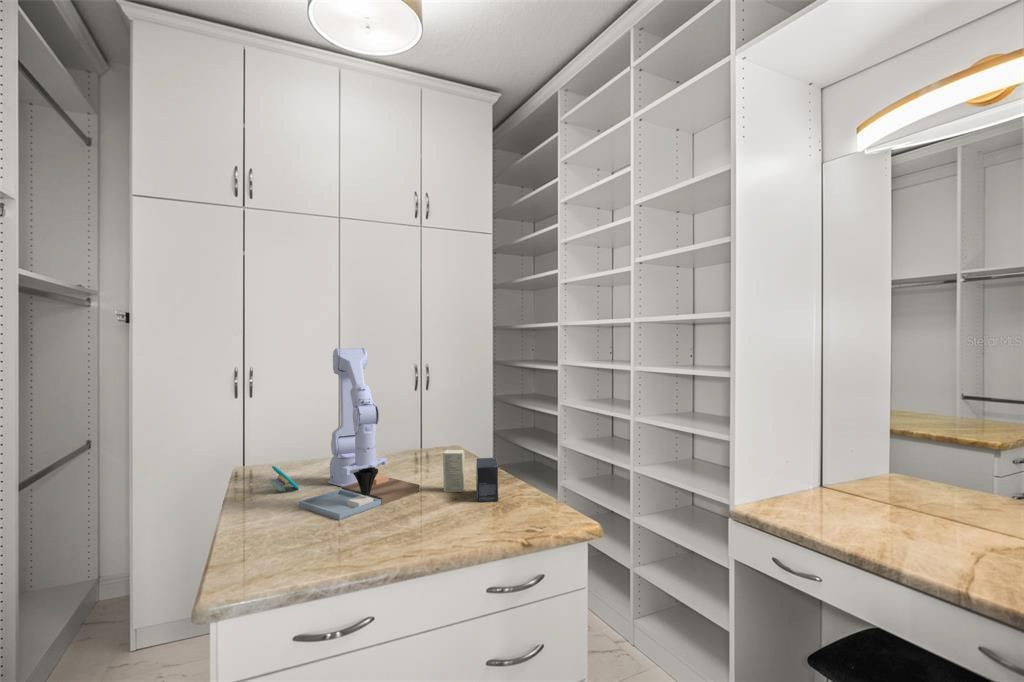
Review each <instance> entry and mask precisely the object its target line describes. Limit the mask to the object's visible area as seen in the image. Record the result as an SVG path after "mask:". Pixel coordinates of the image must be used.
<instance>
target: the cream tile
mask: <svg viewBox="0 0 1024 682" xmlns="http://www.w3.org/2000/svg"><path fill="white" fill-rule="evenodd" d="M370 502H373V498H370V497H367V496H363V495H361V496H358V497H354V498H351V499H348V500H347V505H349V506H352V507H355V508H356V507H359V506H362V505H364V504H367V503H370Z"/></svg>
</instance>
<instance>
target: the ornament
mask: <svg viewBox="0 0 1024 682" xmlns="http://www.w3.org/2000/svg"><path fill="white" fill-rule="evenodd" d="M271 468H272V470H274V472H275V473H276V474H278V476H277V478H270V480H269V481H270V482H269V483H270V485H272V486H273V487H274V488H275V489H276V490H277V491H279V492H280V493H283V491H286V485H287V484H290V486H292V487H293V488H294V489H297V490H299V489H300V487H299V486H298V485H297V483H296V482H295V481H294V480H292V478H290V477H289V476H287V474H286V473H284V472H283V471H282V470H281V469H279V468H278V467H276V465H275V466H274V465H271Z"/></svg>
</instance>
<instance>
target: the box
mask: <svg viewBox="0 0 1024 682" xmlns="http://www.w3.org/2000/svg"><path fill="white" fill-rule="evenodd" d="M361 495H362V494H358V493H354V492H351V491H347V490H343V489H341V488H339V489H335V490H332V491H328V492H326V493H325V492H324V493H322V494H318V495H316V496H312V497H309V498H305V499H302V500H299V501H298V508H301V509H305V510H308V511H310V512H313V513H318V514H319V515H323V516H326V517H329V518H332V519H336V520H338V521H341V520H344V519H348V518H349V517H353V516H355V515H358V514H360V513H363V512H366V511H369V510H372V509H374V508H377V507H380V506H382V505H381V500H380V499H376V498H373V497H370V498H373V502H370V503H367V504H364V505H362V506H359V507H356V508H355V507H352V506H349V505H347V500H348V499H351V498H354V497H358V496H361ZM363 496H365V495H363ZM367 497H369V496H367Z"/></svg>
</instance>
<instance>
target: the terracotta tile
mask: <svg viewBox="0 0 1024 682" xmlns="http://www.w3.org/2000/svg"><path fill="white" fill-rule="evenodd" d="M389 478H390V477H389V475H385V474H381V473H377V475H376V477H375V479H374V481H373V484H376V485H377V484H380V483H383V482H386V481H389Z"/></svg>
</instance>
